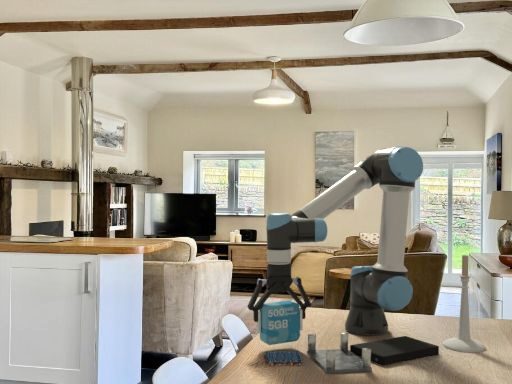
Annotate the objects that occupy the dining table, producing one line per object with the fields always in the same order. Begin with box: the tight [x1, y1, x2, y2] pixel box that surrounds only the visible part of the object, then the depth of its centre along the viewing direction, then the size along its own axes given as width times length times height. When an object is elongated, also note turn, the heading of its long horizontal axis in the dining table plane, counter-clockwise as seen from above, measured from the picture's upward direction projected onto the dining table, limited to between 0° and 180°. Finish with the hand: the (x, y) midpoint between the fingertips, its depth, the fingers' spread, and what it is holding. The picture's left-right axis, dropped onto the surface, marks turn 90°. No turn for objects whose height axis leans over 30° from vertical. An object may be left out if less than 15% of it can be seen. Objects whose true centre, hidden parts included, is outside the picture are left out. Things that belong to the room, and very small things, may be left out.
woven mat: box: [263, 350, 303, 367], centre depth 167 cm, size 10×11×2 cm
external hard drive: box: [349, 335, 440, 367], centre depth 176 cm, size 14×23×3 cm, turn 121°
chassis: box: [306, 332, 373, 375], centre depth 166 cm, size 13×20×6 cm, turn 12°
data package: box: [259, 300, 301, 346], centre depth 179 cm, size 12×4×12 cm, turn 116°
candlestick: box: [442, 254, 486, 354], centre depth 184 cm, size 13×13×30 cm
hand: (279, 330), depth 180 cm, fingers closed on data package, 13 cm apart
